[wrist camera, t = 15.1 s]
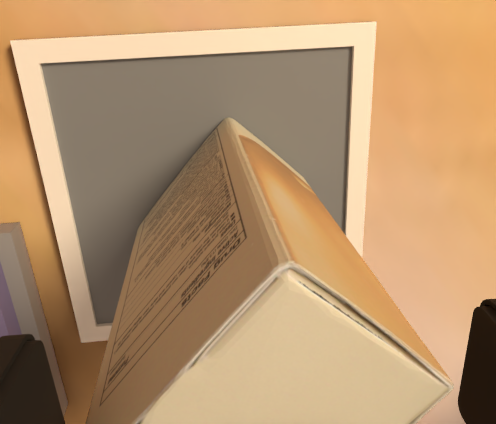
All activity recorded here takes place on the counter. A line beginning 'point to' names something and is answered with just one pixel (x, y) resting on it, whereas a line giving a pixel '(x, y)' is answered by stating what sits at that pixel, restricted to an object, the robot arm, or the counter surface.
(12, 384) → the robot arm
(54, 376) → the ink pad
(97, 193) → the white picture frame
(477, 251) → the counter surface
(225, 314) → the skincare box
